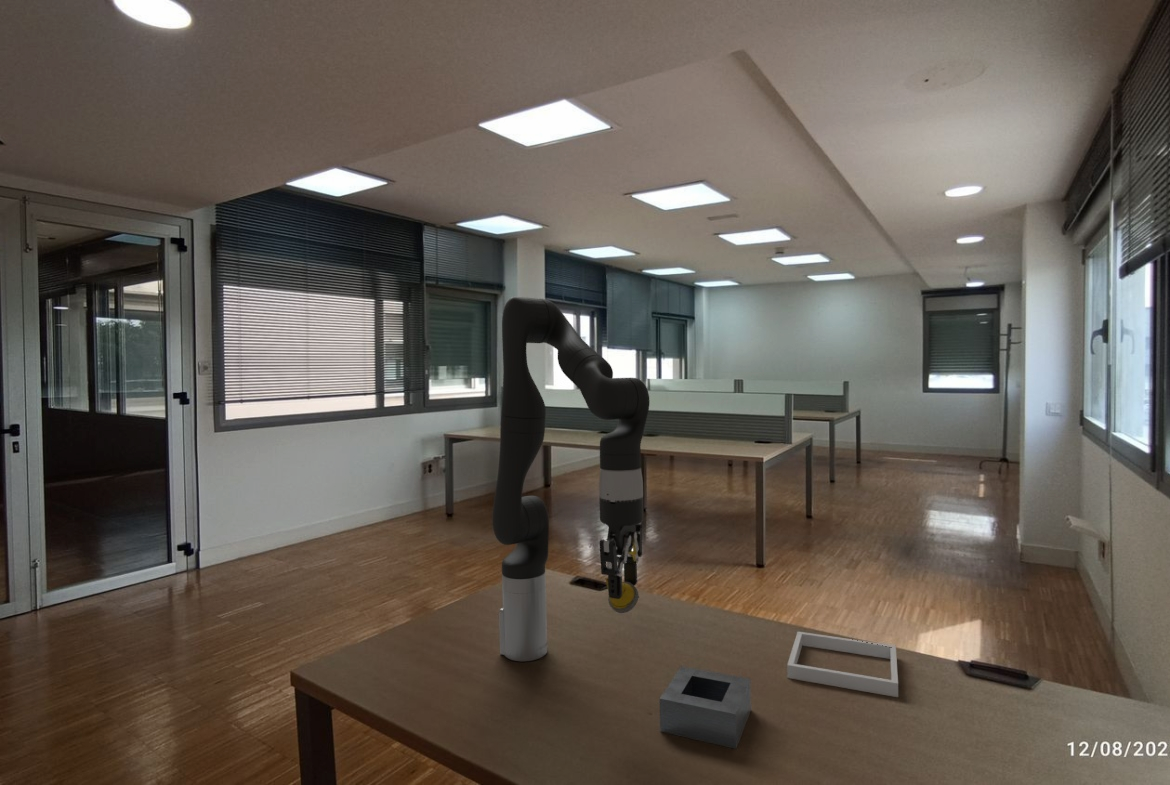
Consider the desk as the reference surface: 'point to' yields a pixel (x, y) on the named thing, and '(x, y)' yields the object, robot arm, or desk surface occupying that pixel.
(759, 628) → the desk surface
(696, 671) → the bit holder
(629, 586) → the drill bit
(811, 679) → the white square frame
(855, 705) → the desk surface
